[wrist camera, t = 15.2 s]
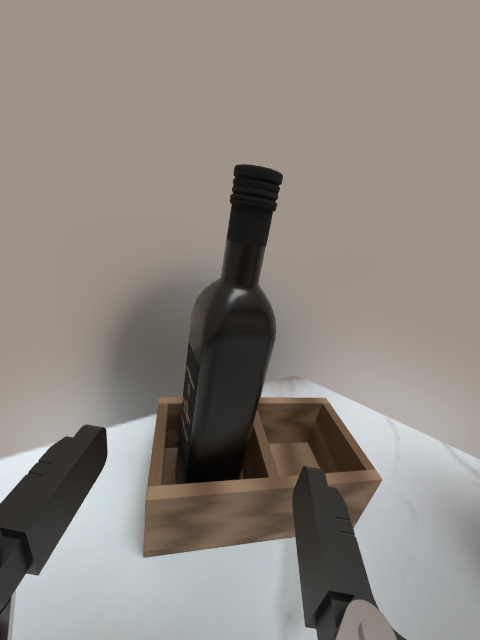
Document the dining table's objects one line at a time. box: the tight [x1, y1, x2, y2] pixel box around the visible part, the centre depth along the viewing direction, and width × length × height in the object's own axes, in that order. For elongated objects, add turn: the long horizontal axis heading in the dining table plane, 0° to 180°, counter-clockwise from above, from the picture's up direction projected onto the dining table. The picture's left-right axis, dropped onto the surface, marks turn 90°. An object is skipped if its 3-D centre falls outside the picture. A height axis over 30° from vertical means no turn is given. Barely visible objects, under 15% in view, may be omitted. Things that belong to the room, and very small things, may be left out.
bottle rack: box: [143, 397, 382, 558], centre depth 28 cm, size 21×11×8 cm, turn 101°
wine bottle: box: [175, 164, 283, 484], centre depth 22 cm, size 6×6×30 cm
